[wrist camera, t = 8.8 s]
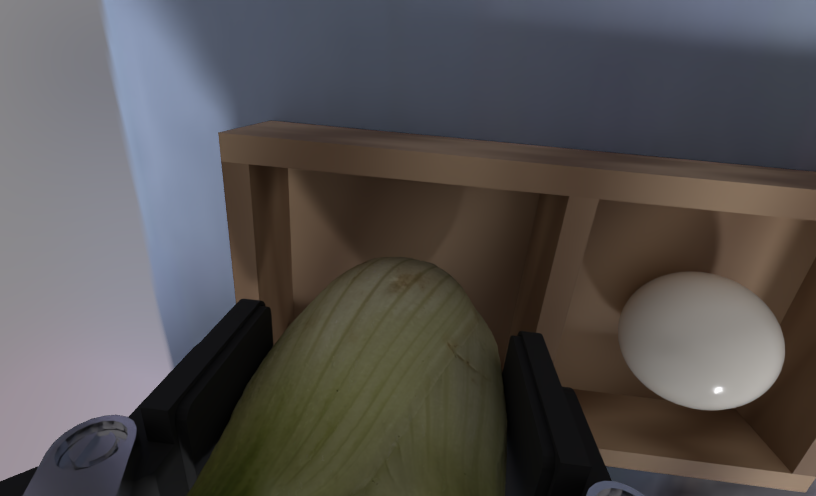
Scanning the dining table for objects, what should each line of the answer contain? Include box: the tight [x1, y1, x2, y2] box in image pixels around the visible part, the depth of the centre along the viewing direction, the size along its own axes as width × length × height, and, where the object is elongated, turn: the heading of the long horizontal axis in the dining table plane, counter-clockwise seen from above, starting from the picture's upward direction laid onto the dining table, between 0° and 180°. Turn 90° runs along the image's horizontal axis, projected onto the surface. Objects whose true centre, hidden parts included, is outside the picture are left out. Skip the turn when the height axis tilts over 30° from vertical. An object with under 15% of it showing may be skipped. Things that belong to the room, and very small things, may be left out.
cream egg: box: [618, 271, 785, 410], centre depth 13 cm, size 4×4×4 cm
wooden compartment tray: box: [218, 121, 816, 492], centre depth 14 cm, size 20×11×4 cm, turn 85°
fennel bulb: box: [187, 257, 507, 496], centre depth 8 cm, size 6×5×12 cm
